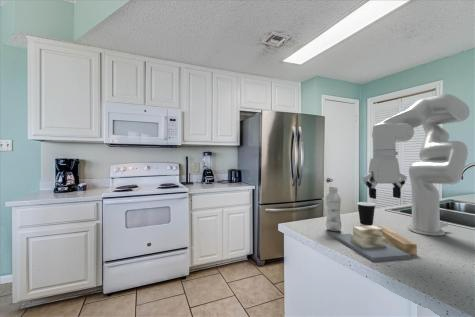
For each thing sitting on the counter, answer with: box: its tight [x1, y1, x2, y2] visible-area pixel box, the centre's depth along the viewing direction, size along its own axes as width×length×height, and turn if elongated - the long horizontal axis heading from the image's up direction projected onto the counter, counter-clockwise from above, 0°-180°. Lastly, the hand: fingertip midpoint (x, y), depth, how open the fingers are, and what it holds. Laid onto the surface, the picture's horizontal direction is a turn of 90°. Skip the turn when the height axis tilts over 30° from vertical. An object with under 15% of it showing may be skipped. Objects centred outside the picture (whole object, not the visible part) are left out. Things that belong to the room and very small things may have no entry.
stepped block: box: [350, 225, 386, 248], centre depth 83 cm, size 9×7×6 cm
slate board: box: [333, 233, 412, 263], centre depth 83 cm, size 14×22×1 cm, turn 8°
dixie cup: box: [356, 201, 377, 226], centre depth 108 cm, size 8×8×11 cm
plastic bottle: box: [325, 186, 343, 232], centre depth 101 cm, size 6×7×20 cm
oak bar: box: [377, 225, 418, 256], centre depth 85 cm, size 4×20×4 cm, turn 173°
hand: (384, 197), depth 86 cm, fingers open, 9 cm apart
